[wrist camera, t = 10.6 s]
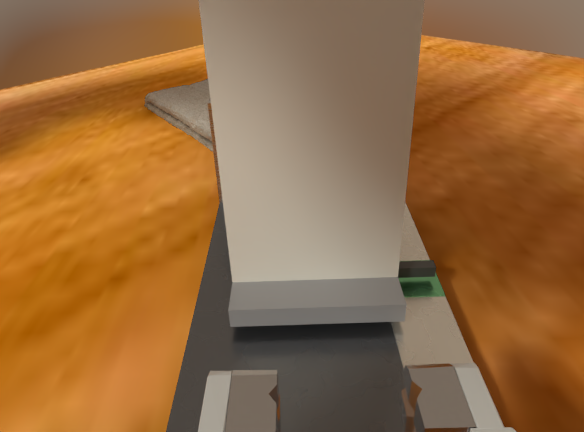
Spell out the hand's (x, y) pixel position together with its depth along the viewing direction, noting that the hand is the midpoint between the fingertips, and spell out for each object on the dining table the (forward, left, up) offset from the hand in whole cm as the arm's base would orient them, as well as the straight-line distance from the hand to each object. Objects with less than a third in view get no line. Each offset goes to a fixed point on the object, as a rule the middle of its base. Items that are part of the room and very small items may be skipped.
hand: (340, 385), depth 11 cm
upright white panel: (-12, +6, -7) cm, 15 cm away
